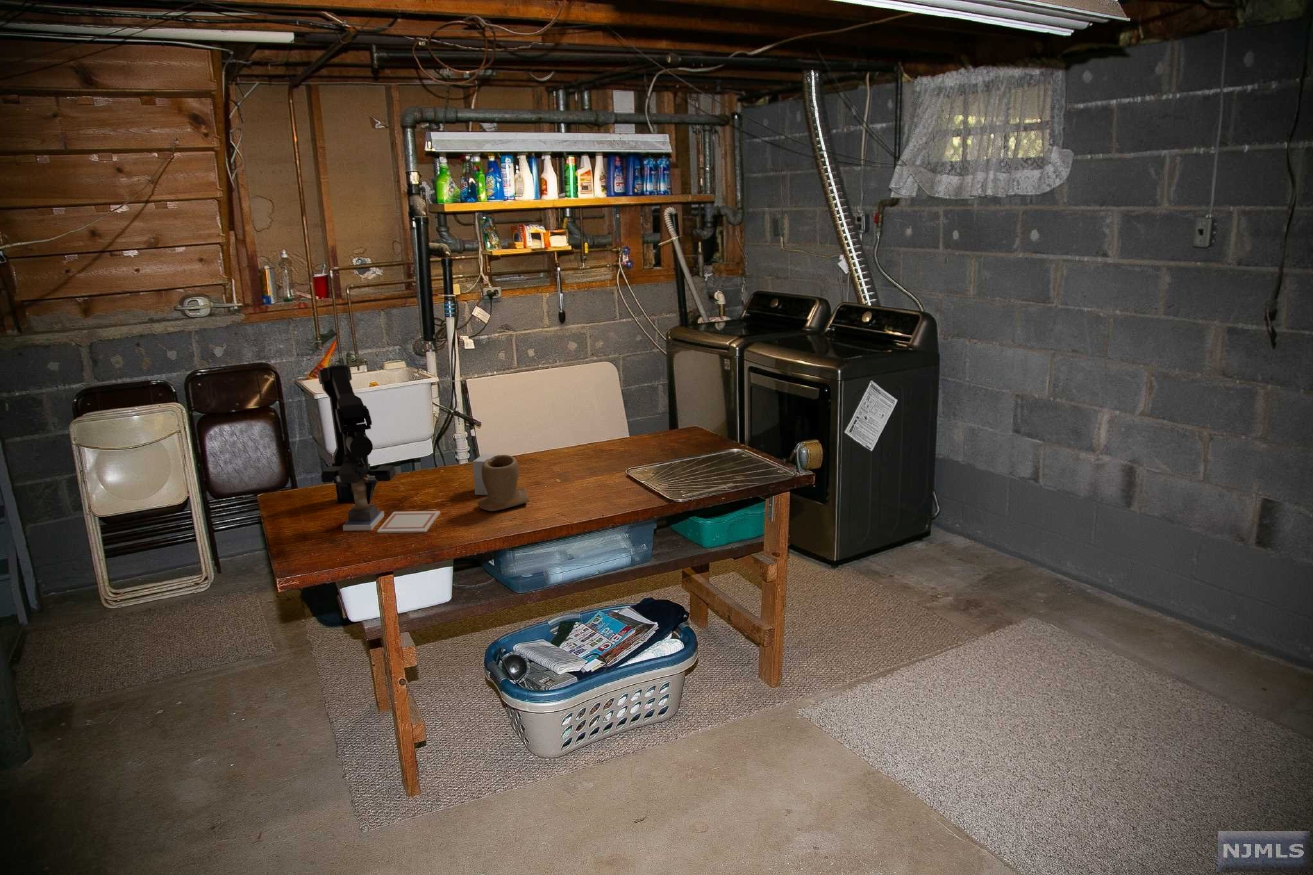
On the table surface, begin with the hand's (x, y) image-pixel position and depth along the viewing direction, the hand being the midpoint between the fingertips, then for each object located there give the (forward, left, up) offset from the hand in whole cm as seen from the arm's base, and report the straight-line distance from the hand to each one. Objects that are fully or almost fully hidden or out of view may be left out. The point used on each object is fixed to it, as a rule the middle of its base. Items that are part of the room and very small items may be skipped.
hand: (361, 503), depth 247 cm
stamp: (0, 0, -4) cm, 4 cm away
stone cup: (+37, +12, -6) cm, 39 cm away
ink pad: (0, 0, -6) cm, 6 cm away
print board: (+12, 0, -6) cm, 14 cm away
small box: (+29, +26, -6) cm, 39 cm away
